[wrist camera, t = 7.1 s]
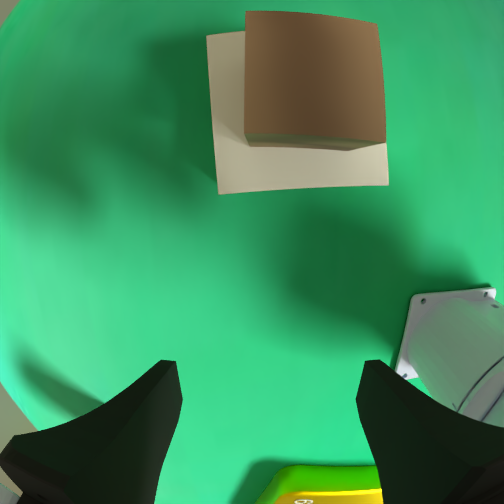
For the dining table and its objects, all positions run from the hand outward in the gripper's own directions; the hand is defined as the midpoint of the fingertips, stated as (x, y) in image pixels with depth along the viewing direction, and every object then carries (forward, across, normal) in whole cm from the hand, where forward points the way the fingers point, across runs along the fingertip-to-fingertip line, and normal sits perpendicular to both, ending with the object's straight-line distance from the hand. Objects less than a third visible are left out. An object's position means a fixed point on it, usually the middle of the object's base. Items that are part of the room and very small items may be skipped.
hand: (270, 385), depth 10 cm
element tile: (+11, -8, +29) cm, 32 cm away
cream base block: (+10, -2, -11) cm, 15 cm away
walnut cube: (+6, -2, -11) cm, 13 cm away
